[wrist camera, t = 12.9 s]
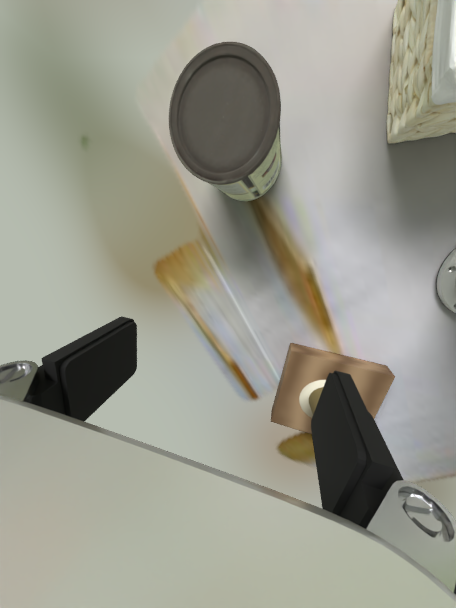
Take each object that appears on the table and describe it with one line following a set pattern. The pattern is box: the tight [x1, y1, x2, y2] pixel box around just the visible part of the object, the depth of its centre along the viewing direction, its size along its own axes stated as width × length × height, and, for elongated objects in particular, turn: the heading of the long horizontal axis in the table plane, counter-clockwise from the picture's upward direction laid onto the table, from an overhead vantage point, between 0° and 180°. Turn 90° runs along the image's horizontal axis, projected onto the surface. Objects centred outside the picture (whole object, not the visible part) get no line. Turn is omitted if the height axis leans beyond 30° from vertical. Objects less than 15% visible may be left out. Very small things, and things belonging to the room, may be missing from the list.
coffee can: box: [169, 42, 282, 201], centre depth 26 cm, size 10×10×14 cm
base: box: [271, 343, 395, 434], centre depth 39 cm, size 16×16×3 cm
